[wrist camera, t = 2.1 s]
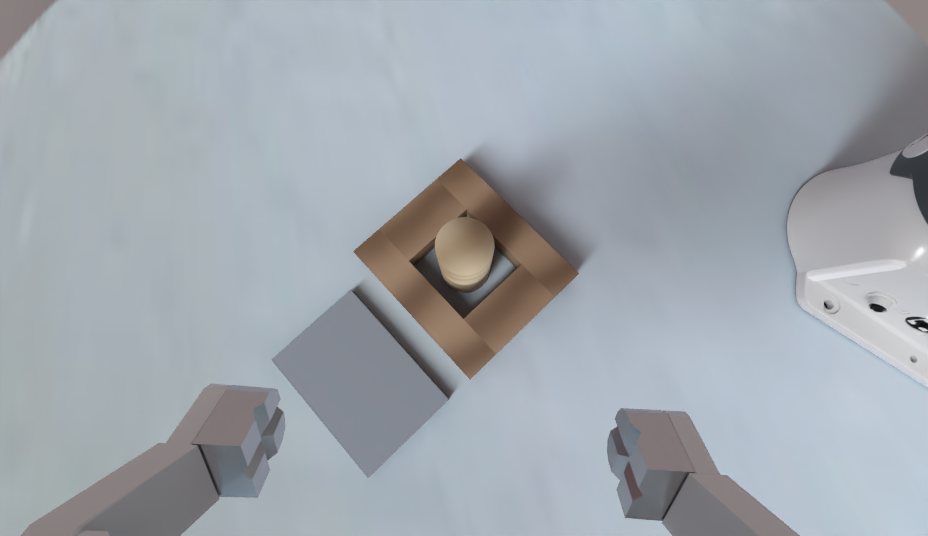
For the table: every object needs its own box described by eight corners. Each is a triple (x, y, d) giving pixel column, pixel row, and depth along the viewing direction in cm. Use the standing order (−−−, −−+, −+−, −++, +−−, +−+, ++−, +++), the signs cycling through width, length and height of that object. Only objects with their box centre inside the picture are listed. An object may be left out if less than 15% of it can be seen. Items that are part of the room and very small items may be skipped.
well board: (572, 279, 40) (578, 273, 38) (470, 378, 38) (470, 379, 36) (461, 170, 43) (460, 158, 40) (360, 258, 41) (353, 251, 38)
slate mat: (449, 398, 38) (448, 399, 37) (370, 474, 37) (368, 477, 36) (353, 291, 40) (350, 289, 39) (276, 360, 39) (271, 359, 38)
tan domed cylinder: (499, 269, 40) (506, 246, 33) (464, 302, 40) (463, 287, 32) (466, 236, 41) (465, 205, 33) (431, 267, 41) (422, 244, 33)
